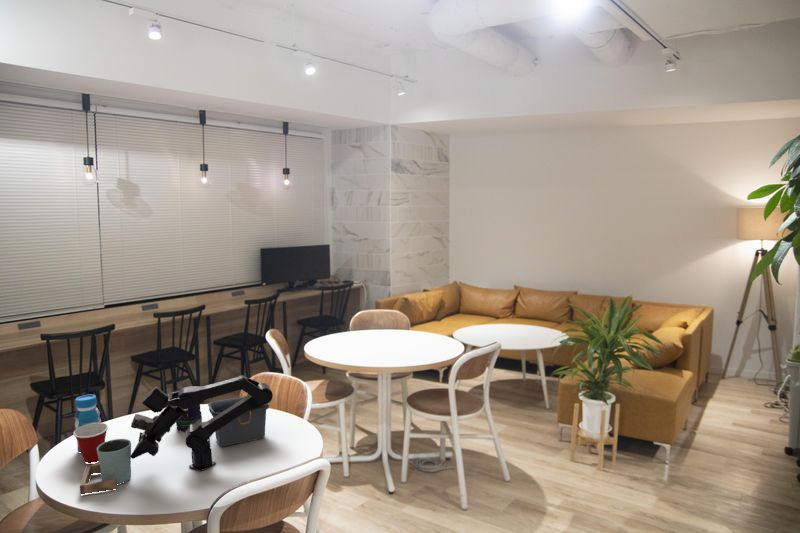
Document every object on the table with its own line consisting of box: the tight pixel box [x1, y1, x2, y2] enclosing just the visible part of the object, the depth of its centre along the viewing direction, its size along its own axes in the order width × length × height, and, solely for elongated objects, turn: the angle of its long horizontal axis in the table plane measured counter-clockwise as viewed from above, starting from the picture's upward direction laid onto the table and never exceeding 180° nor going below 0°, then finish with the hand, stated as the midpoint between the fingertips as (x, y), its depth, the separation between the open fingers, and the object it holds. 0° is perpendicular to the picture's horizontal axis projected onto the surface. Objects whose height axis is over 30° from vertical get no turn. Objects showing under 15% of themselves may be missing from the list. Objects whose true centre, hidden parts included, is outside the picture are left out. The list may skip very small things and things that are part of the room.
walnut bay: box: [79, 463, 118, 494], centre depth 192 cm, size 10×15×4 cm
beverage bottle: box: [74, 394, 102, 453], centre depth 216 cm, size 8×8×20 cm
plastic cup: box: [72, 422, 109, 463], centre depth 208 cm, size 11×11×12 cm
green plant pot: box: [97, 438, 132, 484], centre depth 193 cm, size 10×10×12 cm
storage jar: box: [173, 387, 203, 433], centre depth 236 cm, size 10×10×15 cm
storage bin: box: [207, 395, 271, 447], centre depth 223 cm, size 21×16×14 cm
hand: (131, 457), depth 195 cm, fingers closed, pressing on green plant pot
